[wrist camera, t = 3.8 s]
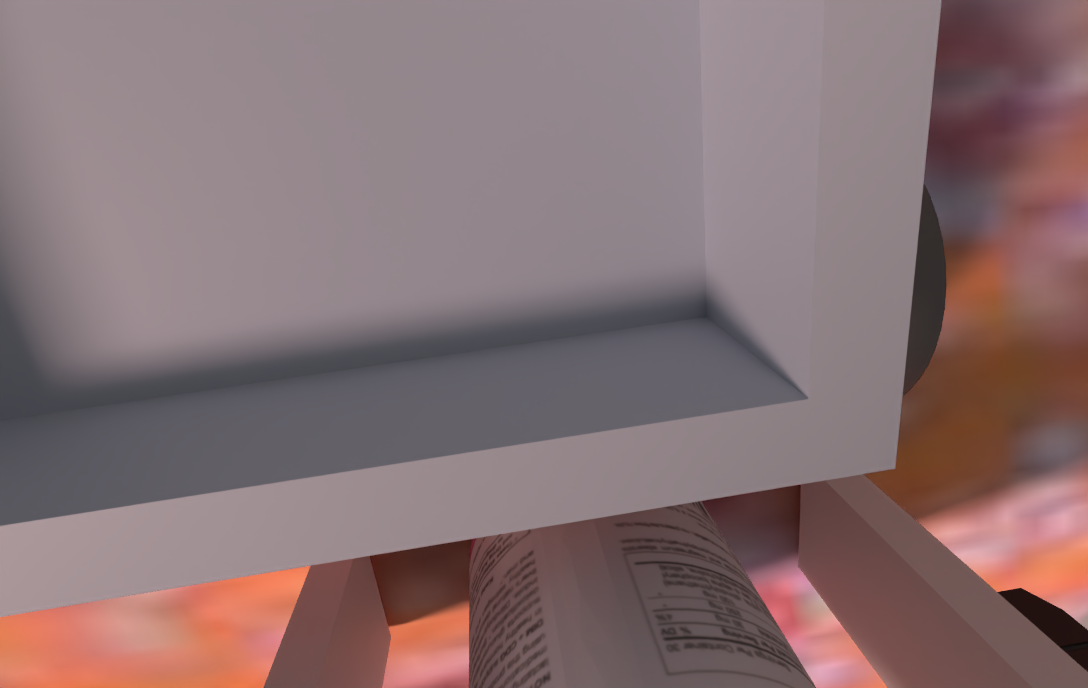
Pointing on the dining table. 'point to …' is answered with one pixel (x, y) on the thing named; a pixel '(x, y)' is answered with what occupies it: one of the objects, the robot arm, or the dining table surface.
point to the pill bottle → (622, 608)
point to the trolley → (442, 270)
